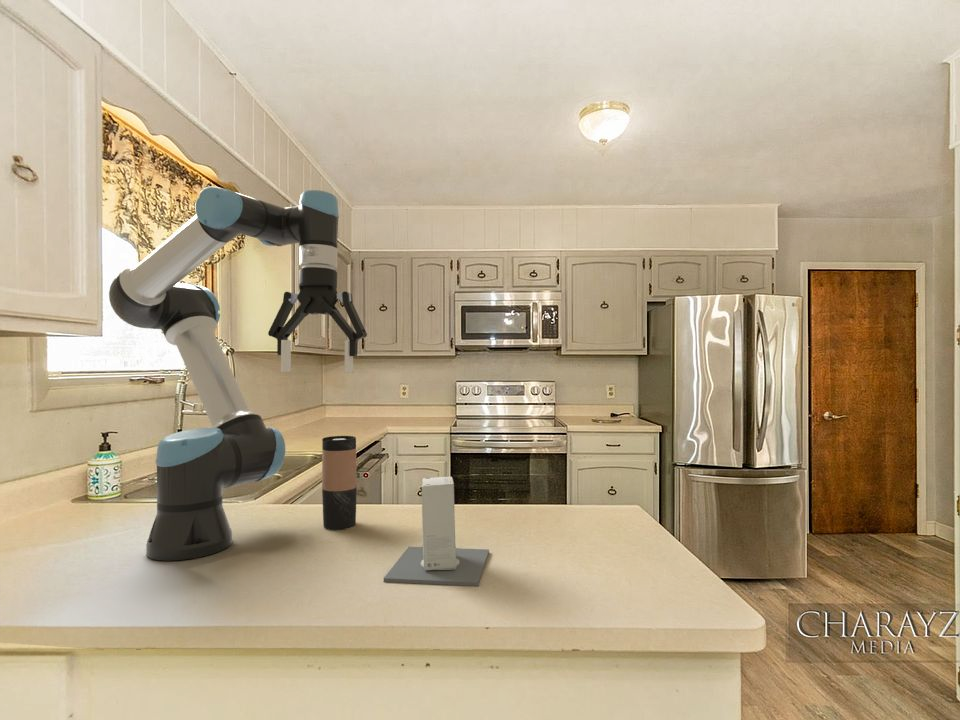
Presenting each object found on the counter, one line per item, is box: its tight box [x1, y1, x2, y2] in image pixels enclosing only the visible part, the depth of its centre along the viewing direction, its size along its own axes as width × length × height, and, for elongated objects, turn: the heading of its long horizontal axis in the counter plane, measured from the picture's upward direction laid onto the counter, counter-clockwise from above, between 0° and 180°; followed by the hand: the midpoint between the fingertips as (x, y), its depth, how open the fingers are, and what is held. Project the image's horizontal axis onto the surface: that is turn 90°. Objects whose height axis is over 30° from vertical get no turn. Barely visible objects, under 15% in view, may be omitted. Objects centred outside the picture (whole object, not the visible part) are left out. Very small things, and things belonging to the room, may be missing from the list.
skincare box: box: [421, 476, 457, 570], centre depth 97 cm, size 8×6×15 cm
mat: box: [383, 546, 490, 587], centre depth 97 cm, size 16×16×1 cm
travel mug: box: [321, 435, 358, 531], centre depth 123 cm, size 8×8×20 cm
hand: (316, 372), depth 110 cm, fingers open, 13 cm apart
